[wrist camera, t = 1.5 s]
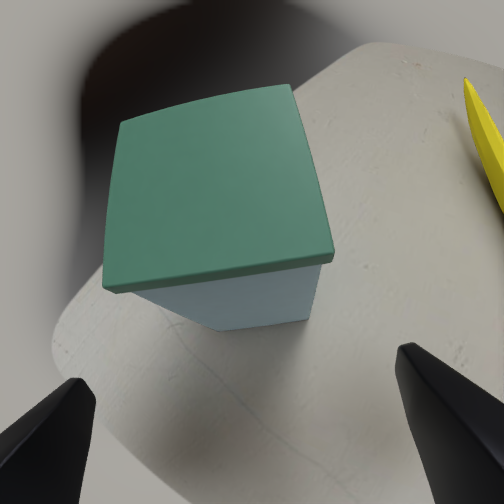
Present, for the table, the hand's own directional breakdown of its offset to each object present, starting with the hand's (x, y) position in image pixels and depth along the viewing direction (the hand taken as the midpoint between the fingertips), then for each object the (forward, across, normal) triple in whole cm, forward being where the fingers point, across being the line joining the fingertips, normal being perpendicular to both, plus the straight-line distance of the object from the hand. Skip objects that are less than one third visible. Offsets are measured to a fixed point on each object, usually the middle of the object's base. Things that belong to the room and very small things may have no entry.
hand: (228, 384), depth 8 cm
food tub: (+13, 0, +4) cm, 14 cm away
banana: (+16, -22, +2) cm, 27 cm away
